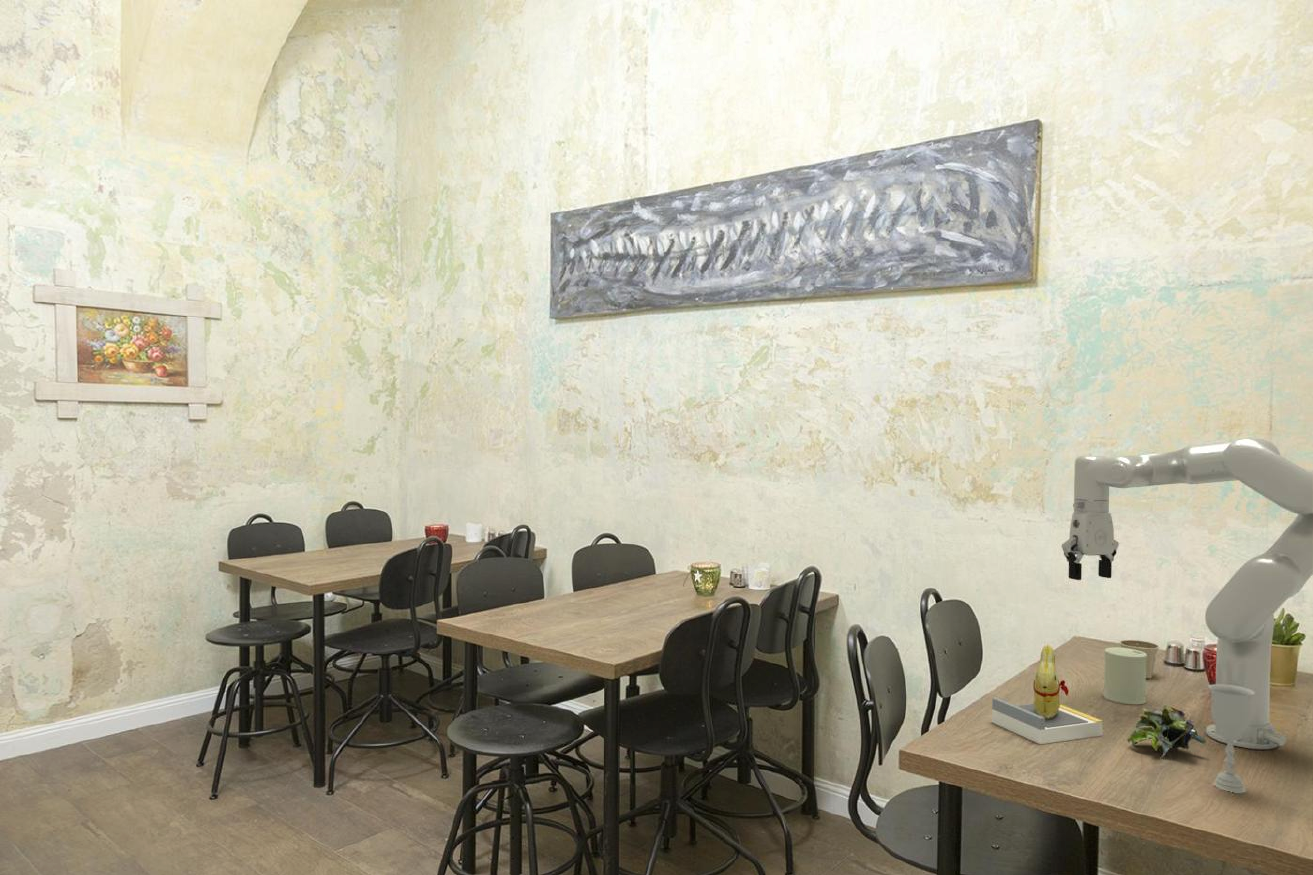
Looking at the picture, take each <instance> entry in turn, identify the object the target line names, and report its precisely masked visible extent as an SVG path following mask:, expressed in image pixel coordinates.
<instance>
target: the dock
mask: <svg viewBox="0 0 1313 875" xmlns="http://www.w3.org/2000/svg"><path fill="white" fill-rule="evenodd" d="M991 701H992V702H991V703H992V708H991V710H992V713H991V723H993V724H994V725H997V726H999V727H1001V728H1003V729H1005V730H1008V731H1010V732H1012V733H1014V734H1016V735H1019V736H1021V737H1023V738H1026V740H1027V739H1028V740H1029V741H1032V742H1033V743H1036V744H1039V745H1044V744H1046V745H1047V744H1052V743H1059V742H1066V741H1074V740H1080V739H1081V740H1082V739H1088V738H1096V737H1102V736H1103V720H1102V719H1100V718H1096V717H1095V716H1092V715H1089V714H1086V713H1084V712H1081V711H1080V710H1079V711H1078V710H1075V709H1073V708H1071V707H1068V706H1067V705H1063V704H1061V703H1060V707H1059V709H1058V712H1057V714H1056V715H1055V716H1054V717H1053V718H1050V719H1045V718H1044V717H1042V716H1039V715H1037V713H1036V712H1035V705H1034V703H1030V704H1024V705H1016V704H1012V703H1010V702H1008V701H1006V700H1003V699H1001V698H998V697H993V698H992V700H991Z"/></svg>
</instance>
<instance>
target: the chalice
mask: <svg viewBox="0 0 1313 875" xmlns="http://www.w3.org/2000/svg"><path fill="white" fill-rule="evenodd" d="M1207 687H1208V690H1209V691H1210V693H1211V694H1210V695H1211V696H1210V715H1211V717H1212V720H1213V723H1214V724H1215V725H1216V727H1217V729H1218V731H1219V733H1220V735H1221V737H1222V738H1224V739H1226V741H1227V744H1226V747H1225V749H1224V751H1225V754H1226V757H1225V758H1224V759H1223V761H1224V763H1225V764H1226V765H1225V766H1226V768H1225V770H1223V771H1221V772H1219V773H1218V774H1217V775H1216V776H1217V777H1216V778H1214V779H1215V781H1214V782H1213V783H1212V786H1213V785H1215V786H1216V787H1218V788H1220V789H1223V790H1226V791H1225V792H1227V791H1230V792H1229V793H1232V792H1234V793H1233V794H1243V793H1242V792H1244V793H1246V792H1245V791H1247V790H1246V788H1245V786H1244V783H1243V781H1242V778H1241V777H1240V776H1239V775H1237V774H1236V773H1235V772H1234V768H1233V767H1234V764H1235V763H1236V760H1234V755H1235V753H1236V750H1235V748H1234V745H1233V743H1234V741H1237V740H1239V739H1240V738H1241V736H1242V735H1243V733H1244V732H1245V730H1246V729H1247V727H1248V725H1249V722H1250V720H1251V698H1252V697H1253V695H1254V694H1255V692H1254V691H1252V690H1250V689H1247V688H1243V687H1239V686H1233V685H1224V684H1216V683H1215V684H1214V683H1213V684H1209V685H1208V686H1207ZM1215 786H1214V787H1215ZM1216 787H1215V788H1216ZM1218 788H1217V789H1218ZM1220 789H1219V790H1220ZM1223 790H1222V791H1223Z"/></svg>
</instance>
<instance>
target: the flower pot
mask: <svg viewBox="0 0 1313 875" xmlns="http://www.w3.org/2000/svg"><path fill="white" fill-rule="evenodd" d="M1118 643H1119V645H1120V648H1128V649H1134V650H1138V651H1142V652H1144V653H1146V654H1147V659H1146V679H1147V680H1148V679H1152V678H1153V674H1154V666H1155V662H1156V655H1157V654H1158V650H1159V649H1160V645H1159V644H1157V643H1154V642H1150V641H1145V640H1144V641H1143V640H1139V639H1138V640H1137V639H1136V640H1135V639H1122V640H1120V641H1119V642H1118Z"/></svg>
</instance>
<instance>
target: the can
mask: <svg viewBox="0 0 1313 875" xmlns="http://www.w3.org/2000/svg"><path fill="white" fill-rule="evenodd" d="M1146 659H1147V654H1146V653H1144V652H1142V651H1138V650H1134V649H1128V648H1121V647H1115V646H1114V647H1107V648H1105V649H1104V686H1103V687H1104V690H1103V694H1102V695H1103V697H1104V698H1105V699H1106V700H1108V701H1111V702H1113V703H1117V704H1124V705H1132V706H1133V705H1134V706H1138V705H1144V704H1146V703H1147V696H1146V694H1147V693H1146V692H1147V690H1146V689H1147V688H1146V685H1147V678H1146Z"/></svg>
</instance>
